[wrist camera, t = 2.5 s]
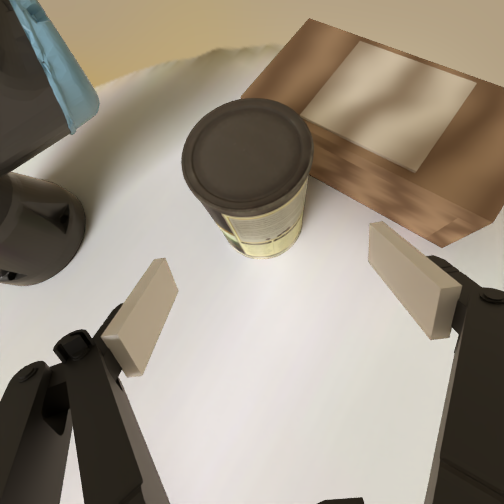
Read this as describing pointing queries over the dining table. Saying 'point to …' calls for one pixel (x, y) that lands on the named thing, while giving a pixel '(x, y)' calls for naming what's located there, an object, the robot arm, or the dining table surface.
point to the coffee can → (251, 173)
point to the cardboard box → (394, 129)
